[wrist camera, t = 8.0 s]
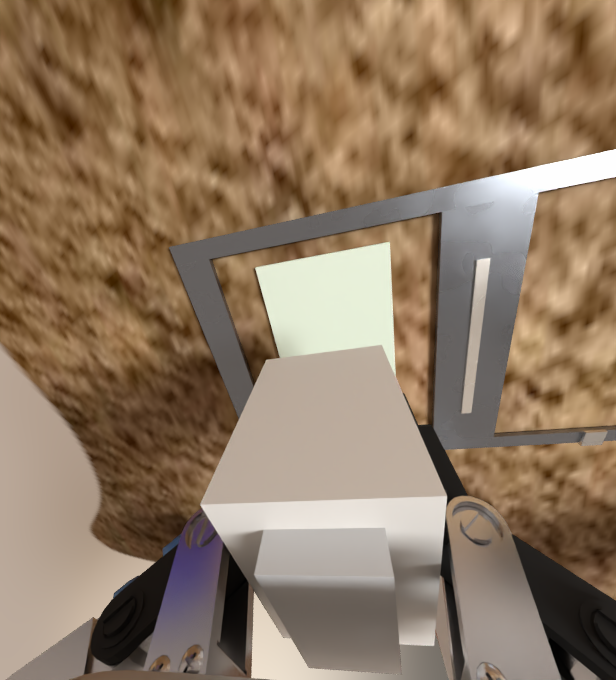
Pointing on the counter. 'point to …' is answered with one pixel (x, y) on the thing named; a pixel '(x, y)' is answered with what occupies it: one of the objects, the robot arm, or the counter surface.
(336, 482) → the plug
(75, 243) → the counter surface
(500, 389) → the two-window grey frame
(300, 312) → the port pad
